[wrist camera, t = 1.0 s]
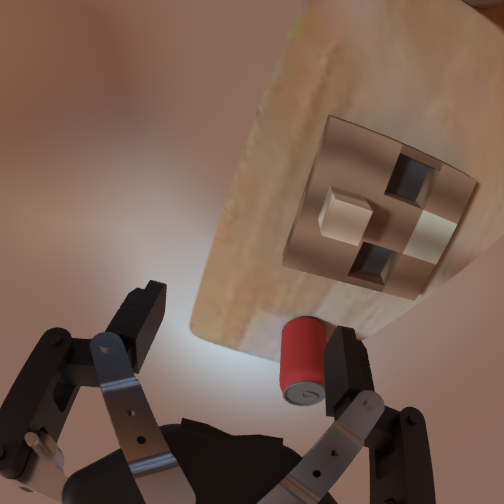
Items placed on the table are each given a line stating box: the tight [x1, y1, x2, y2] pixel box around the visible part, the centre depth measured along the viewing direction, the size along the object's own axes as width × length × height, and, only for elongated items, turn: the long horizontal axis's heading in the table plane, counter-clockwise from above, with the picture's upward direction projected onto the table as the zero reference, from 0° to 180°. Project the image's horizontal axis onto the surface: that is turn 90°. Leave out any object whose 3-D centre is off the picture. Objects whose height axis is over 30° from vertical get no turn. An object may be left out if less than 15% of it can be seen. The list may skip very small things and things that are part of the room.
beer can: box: [279, 317, 327, 406], centre depth 41 cm, size 7×7×12 cm
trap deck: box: [282, 115, 477, 301], centre depth 35 cm, size 18×19×3 cm
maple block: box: [318, 186, 373, 246], centre depth 31 cm, size 4×4×4 cm
